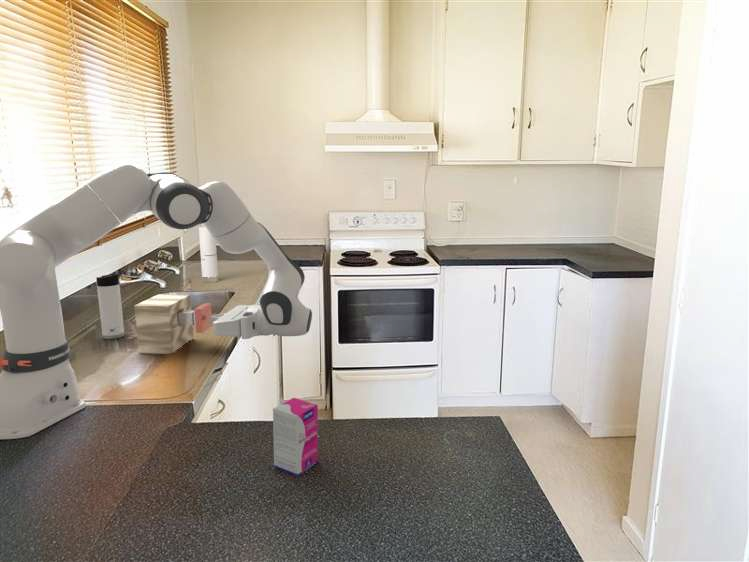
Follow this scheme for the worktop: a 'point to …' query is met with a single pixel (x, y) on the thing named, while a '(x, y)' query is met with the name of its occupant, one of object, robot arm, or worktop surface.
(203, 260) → the cylindrical container
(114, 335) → the travel mug
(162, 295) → the block
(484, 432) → the worktop surface
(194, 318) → the pink-tipped peg
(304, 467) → the supplement box
